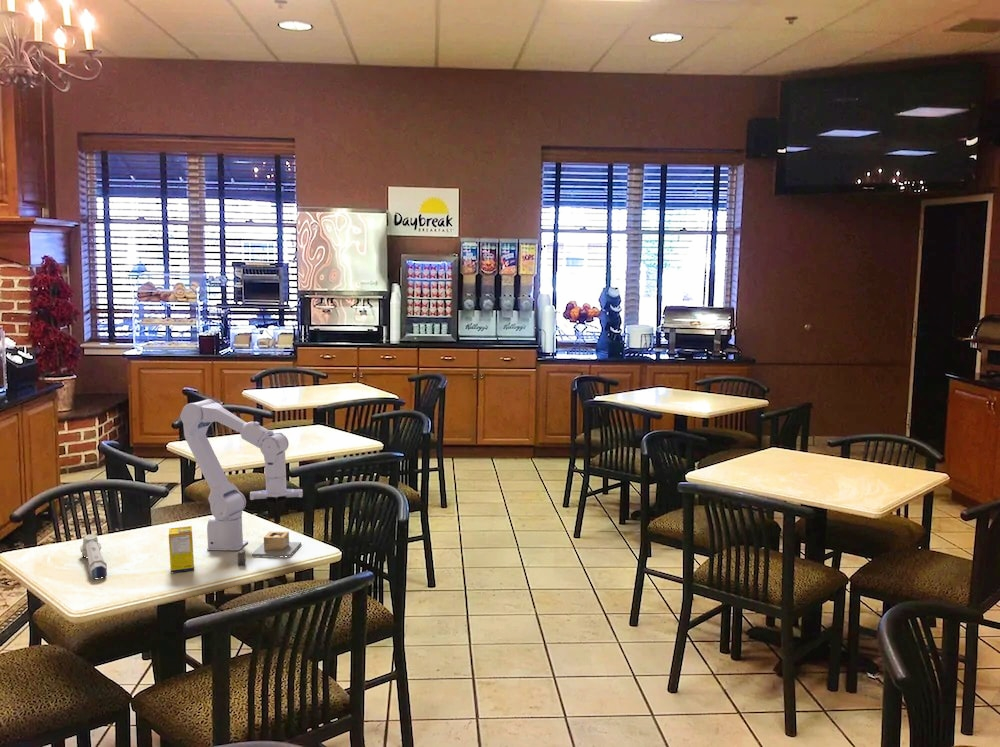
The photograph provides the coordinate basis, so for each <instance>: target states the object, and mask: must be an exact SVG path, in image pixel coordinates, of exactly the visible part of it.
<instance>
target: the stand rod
mask: <svg viewBox="0 0 1000 747" xmlns="http://www.w3.org/2000/svg"><path fill="white" fill-rule="evenodd" d="M236 555H237V566H238V567H240V566H241V565H242V566H245V565H246V551H245V550H238V552H237V554H236Z"/></svg>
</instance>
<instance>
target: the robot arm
mask: <svg viewBox="0 0 1000 747" xmlns="http://www.w3.org/2000/svg"><path fill="white" fill-rule="evenodd" d="M179 418H180V420H181V422H182V424H183V436H184V438H185V440H186V441H185V442H187V443H186V444H188V447H189V448H190V452H191V453H192V455H193V458H194V459H195V461H196V463H197V466H198V468H199V469H200V471H201V473H202V476H203V477H204V480H205V481H206V484H207V486H208V487H209V489H210V492H209V495H208V498H207V500H208V502H209V505H210V508H209V509H210V513H211V515H212V517H210V518H209V519H208V522H207V526H206V533H207V535H206V536H207V548H206V551H241V549H242V548H243V547H244V546H246V544H248V543H249V541H248V540H244V538H243V537H244V535H243V511H244V509H245V507H246V505H247V500H246V497H245V495H244V494H243V493H242V492H240V490H239V489H238V487H237V485H235V484H233V483H231V482H230V481H229V479H228V478H227V475H226V474H225V471H224V469H223V467H222V465H221V464H220V462H219V459H218V457H217V456H216V454H215V451H214V449H213V447H212V445H211V443H210V441H209V439H208V437H207V432H208V430H209V427H210V426H211V424H212V423H214V422H216V423H217V422H218V423H219V424H221V425H223V426H225V427H228V428H230V429H231V430H232V431H233V430H234V431H236V432H238V433H239V434H240V437H241V439H242V440H243V441H245V442H247V443H249V444H251V445H253V446H255V447H256V448H259V450H260V452H261V454H262V455H263V460H264V472H265V474H264V475H265V489H263V490H256V491H254V490H253V491H250V493H249V500H251V501H253V500H261V499H263V500H264V499H266V505H267V506H268V508H269V510H270V512H271V514H272V517H273V521H274V524H280V523H281V517H282V512H283V509H284V506H285V503H286V500H287V498H303V496H304V495H303V489H302V488H301V489H299V488H298V489H297V488H296V489H295V488H287V471H286V470H287V468H286V451H287V450H288V448H289V443H290V442H289V440H288V438H287V436H286V435H284V433H282V432H275V433H274V431H273V430H272V429H267V428H265V427H264V426H262V425H260V424H261V423H260V422H258V421H253V420H252V421H249V422H246V421H245V420H244V419H242V418H240V417H238V416H237V415H235V414H233V413H232V412H230V411H229V410H228V409H226V408H225V407H223V406H222V405H221V403H218V402H216V401H214V400H213V399H210V398H209V399H208V398H207V399H206V398H205V399H203V400H200V401H196V402H190V403H187V404H185V405H184V407H182V410H181V412H180V415H179Z"/></svg>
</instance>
